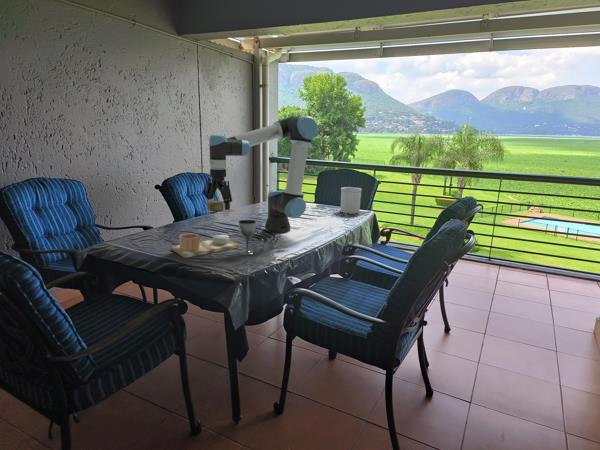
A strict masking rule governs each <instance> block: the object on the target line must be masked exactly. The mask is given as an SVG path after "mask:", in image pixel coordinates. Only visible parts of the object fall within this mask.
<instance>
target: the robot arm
mask: <svg viewBox="0 0 600 450" xmlns="http://www.w3.org/2000/svg"><path fill="white" fill-rule="evenodd" d="M318 130H319V127H318V123H317V121H316V120H315V118H313V117H312V116H307V115H297V116H296V115H293V116H288V117H286V118H283V119H280V120H278V121H274V122H273V124H271V125H266V126H264V127H260V128H257V129H254V130H251V131H247V132H244V133H239V134H238V135H237V134H236V135H234V136H230V137H226V135H222V134H221V135H220V134H212V135H210V136H209V141H208V146H209V168H210V169H209V178H207V186H206V192H205V198H207V199H208V202H211V201H215V194H216V192H217V189H218V191H219V192H220V194H221V197H222V201H224V202H223V211H222V216H223V217H229V215H230V213H229V212H230V210H229V202H230V203H232V202H233V198H232V192H231V189H230V188H231V187H230V181H229V180H225V178H226V177H227V169H226V168H227V157H230V156H231V157H232V156H233V157H238V156H239V157H244V156H249V154H250V152H251V147H254V146H258V145H261V144H263V143H267V142H270V141H274V140H276V139H277V140H283V139H289V142H290V143H291V149H290V150H291V151H290V157H289V158H290V159H289V165H288V171H287V179H286V184H285V185H286V186H285V189H284V190H271V191H270V190H269V192H268V194H267V218H266V221H265V224H264V231H266V232H267V233H273V234H282V233H288V232H290V231H291V223H290V220H289V219H290V218H291V219H299V218H300V217H301V216H302V215H303V214H305V212H306V209H307V204H306V201H305V199H304V193H303V191H302V189H303V188H302V187H303V182H304V177H305V169H306V163H307V156H308V150H309V146H310V145H312V144H313V143H312V142H313V139H314V138H315V137H316V136H317V134H318ZM208 213H215V211H209V210H208Z"/></svg>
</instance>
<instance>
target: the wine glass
mask: <svg viewBox="0 0 600 450" xmlns="http://www.w3.org/2000/svg"><path fill="white" fill-rule="evenodd" d="M256 228H257V221H256V220H253V219H242V220H238V230H239V233H240V236H242V238H244V240H245V243H246V244H245V245H246V249H243V250H240V251H239V254H241V255H245V256H248V255H249V256H250V255H254V254H255V253H256V252H255V251H254V250H252V249H249V242H250V239H251V238H252V237H253V236H254V235H255V233H256Z"/></svg>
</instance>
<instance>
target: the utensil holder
mask: <svg viewBox="0 0 600 450" xmlns="http://www.w3.org/2000/svg"><path fill="white" fill-rule="evenodd" d="M362 190H363V189H362V188H361V187H353V186H347V187H345V186H344V187H341V188H340V213H342V212H343V213H342V214H347V213H349V215H357V214H359V213H360V208H361V197H362ZM356 213H357V214H356Z"/></svg>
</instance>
